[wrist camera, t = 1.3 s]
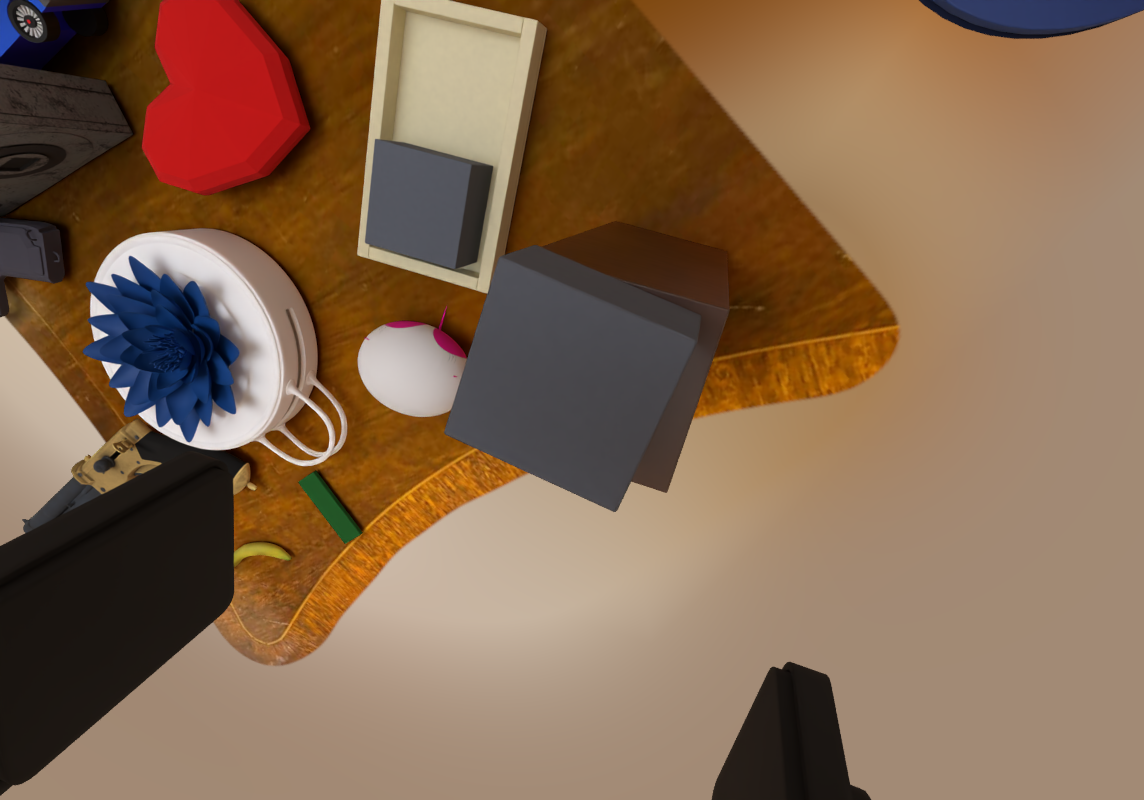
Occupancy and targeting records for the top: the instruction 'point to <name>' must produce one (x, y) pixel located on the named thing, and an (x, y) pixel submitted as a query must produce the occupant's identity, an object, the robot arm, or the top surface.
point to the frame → (455, 108)
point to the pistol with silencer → (127, 468)
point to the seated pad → (427, 203)
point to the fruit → (260, 551)
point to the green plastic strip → (330, 507)
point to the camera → (51, 129)
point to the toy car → (45, 28)
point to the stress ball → (412, 367)
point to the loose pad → (570, 373)
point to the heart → (220, 99)
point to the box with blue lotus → (206, 340)
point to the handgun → (29, 254)
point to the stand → (682, 280)
